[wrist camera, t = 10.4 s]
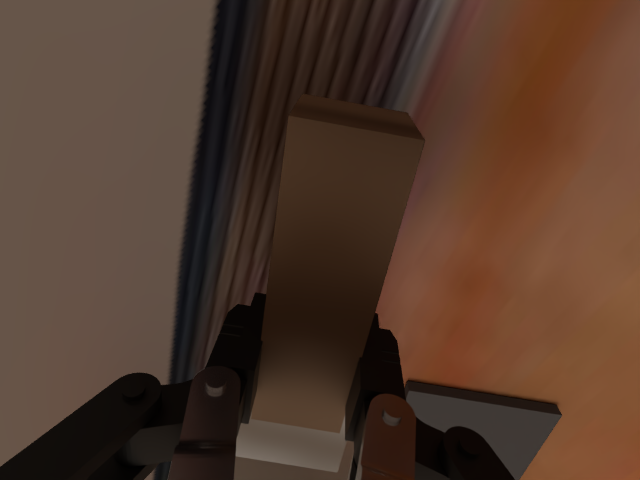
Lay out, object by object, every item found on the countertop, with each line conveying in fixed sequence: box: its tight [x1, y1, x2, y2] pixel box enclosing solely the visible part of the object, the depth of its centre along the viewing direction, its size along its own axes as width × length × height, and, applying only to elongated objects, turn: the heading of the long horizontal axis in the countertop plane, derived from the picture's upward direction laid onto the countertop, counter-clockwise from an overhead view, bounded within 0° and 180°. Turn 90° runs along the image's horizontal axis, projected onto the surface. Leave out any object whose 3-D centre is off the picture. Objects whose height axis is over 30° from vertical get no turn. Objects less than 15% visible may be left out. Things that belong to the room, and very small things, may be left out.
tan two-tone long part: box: [236, 94, 425, 472], centre depth 14 cm, size 15×5×3 cm, turn 171°
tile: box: [234, 441, 354, 480], centre depth 22 cm, size 8×2×11 cm, turn 81°
